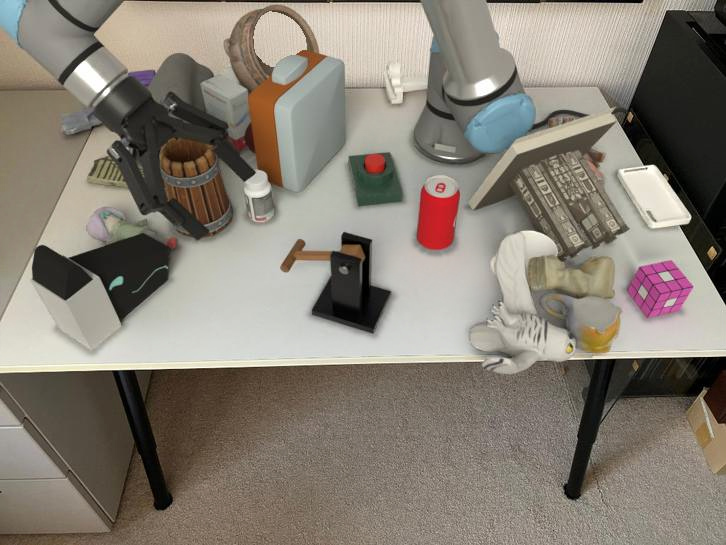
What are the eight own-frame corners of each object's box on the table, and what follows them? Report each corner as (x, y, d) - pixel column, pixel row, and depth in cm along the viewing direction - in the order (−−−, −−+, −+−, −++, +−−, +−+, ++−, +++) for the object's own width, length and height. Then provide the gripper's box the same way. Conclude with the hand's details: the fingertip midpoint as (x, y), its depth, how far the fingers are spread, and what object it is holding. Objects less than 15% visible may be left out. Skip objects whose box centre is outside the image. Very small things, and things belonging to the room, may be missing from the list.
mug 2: (609, 339, 83) (600, 367, 88) (631, 307, 87) (622, 335, 92) (529, 300, 89) (525, 328, 94) (553, 271, 93) (548, 300, 98)
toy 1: (150, 251, 96) (68, 216, 98) (147, 280, 99) (67, 245, 101) (189, 225, 105) (113, 193, 108) (186, 251, 108) (111, 220, 110)
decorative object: (181, 273, 100) (159, 203, 89) (92, 351, 90) (55, 282, 79) (145, 253, 103) (120, 183, 92) (55, 326, 93) (14, 257, 82)
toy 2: (540, 222, 89) (581, 290, 96) (458, 248, 96) (501, 309, 104) (532, 354, 73) (581, 423, 80) (434, 373, 80) (487, 435, 88)
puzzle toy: (679, 310, 96) (694, 286, 92) (646, 318, 95) (660, 294, 91) (658, 283, 100) (671, 259, 95) (626, 290, 99) (638, 266, 94)
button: (382, 160, 115) (383, 152, 114) (386, 172, 112) (386, 164, 111) (363, 162, 114) (363, 154, 113) (366, 174, 112) (366, 166, 111)
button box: (389, 161, 121) (390, 144, 118) (402, 201, 113) (403, 184, 110) (348, 165, 120) (348, 148, 117) (358, 206, 112) (358, 189, 109)
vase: (227, 61, 131) (204, 134, 109) (208, 108, 138) (183, 186, 116) (169, 34, 127) (133, 105, 105) (153, 85, 134) (116, 161, 112)
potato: (266, 166, 123) (239, 141, 123) (292, 138, 123) (266, 113, 123) (261, 158, 116) (233, 132, 116) (290, 128, 116) (262, 102, 116)
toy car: (212, 102, 134) (205, 73, 129) (239, 75, 142) (233, 46, 137) (236, 106, 133) (230, 77, 128) (262, 78, 140) (257, 50, 135)
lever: (283, 275, 92) (277, 263, 91) (300, 248, 96) (294, 236, 94) (355, 277, 86) (349, 264, 85) (370, 248, 90) (365, 235, 89)
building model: (468, 202, 111) (516, 289, 106) (515, 139, 93) (576, 241, 88) (555, 171, 118) (604, 252, 113) (616, 106, 99) (677, 199, 95)
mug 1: (221, 244, 105) (204, 173, 94) (162, 235, 106) (139, 164, 95) (250, 185, 115) (239, 116, 104) (196, 178, 117) (179, 108, 106)
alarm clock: (309, 131, 127) (303, 34, 111) (347, 143, 124) (346, 46, 109) (258, 182, 116) (243, 82, 100) (298, 197, 113) (289, 97, 98)
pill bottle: (279, 209, 111) (275, 172, 105) (266, 226, 108) (260, 189, 102) (256, 202, 112) (251, 165, 106) (242, 218, 109) (235, 181, 103)
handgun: (45, 89, 130) (60, 128, 121) (151, 64, 137) (173, 98, 129) (51, 104, 132) (66, 142, 124) (155, 78, 140) (176, 112, 131)
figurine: (581, 108, 123) (618, 175, 110) (575, 130, 127) (611, 196, 114) (547, 112, 123) (580, 179, 110) (542, 133, 127) (574, 200, 114)
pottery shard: (127, 150, 122) (124, 142, 121) (178, 185, 115) (176, 176, 113) (79, 177, 117) (75, 168, 115) (129, 215, 109) (125, 206, 108)
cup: (555, 292, 98) (565, 262, 93) (494, 300, 97) (501, 271, 92) (537, 257, 103) (546, 227, 98) (479, 264, 102) (485, 234, 97)
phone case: (690, 223, 109) (653, 169, 118) (693, 218, 108) (655, 164, 117) (649, 229, 108) (615, 174, 118) (651, 223, 107) (617, 169, 117)
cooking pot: (293, 30, 143) (328, 13, 134) (301, 113, 144) (337, 101, 135) (196, 9, 126) (229, -12, 117) (206, 104, 127) (240, 89, 118)
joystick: (391, 108, 133) (483, 101, 134) (393, 76, 127) (488, 69, 129) (383, 81, 140) (470, 74, 142) (384, 49, 134) (474, 43, 136)
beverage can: (456, 232, 107) (465, 177, 98) (448, 257, 103) (456, 202, 94) (421, 224, 109) (427, 169, 100) (411, 248, 105) (416, 193, 96)
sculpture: (621, 255, 94) (552, 252, 87) (622, 303, 94) (552, 304, 86) (590, 257, 99) (521, 254, 92) (591, 302, 99) (522, 303, 92)
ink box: (256, 141, 124) (249, 88, 116) (238, 152, 122) (229, 99, 113) (228, 124, 128) (219, 72, 119) (210, 134, 126) (199, 82, 117)
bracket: (311, 315, 95) (306, 257, 85) (332, 278, 100) (329, 220, 90) (373, 334, 93) (375, 276, 83) (391, 295, 98) (394, 237, 88)
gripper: (152, 62, 93) (254, 165, 101) (37, 157, 77) (168, 271, 85) (175, 34, 88) (280, 145, 95) (57, 131, 72) (194, 255, 80)
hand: (228, 205), depth 90 cm, fingers open, 13 cm apart
